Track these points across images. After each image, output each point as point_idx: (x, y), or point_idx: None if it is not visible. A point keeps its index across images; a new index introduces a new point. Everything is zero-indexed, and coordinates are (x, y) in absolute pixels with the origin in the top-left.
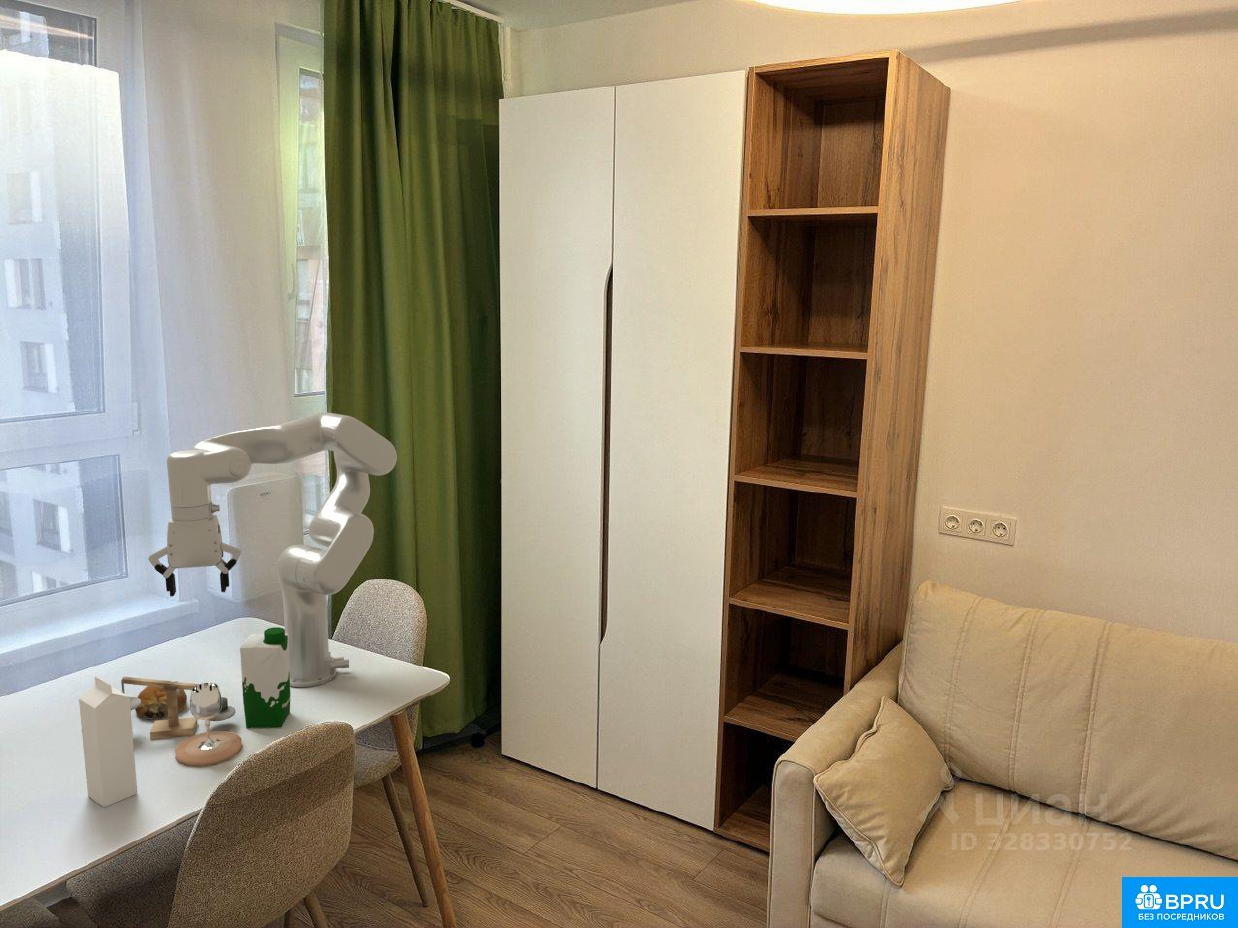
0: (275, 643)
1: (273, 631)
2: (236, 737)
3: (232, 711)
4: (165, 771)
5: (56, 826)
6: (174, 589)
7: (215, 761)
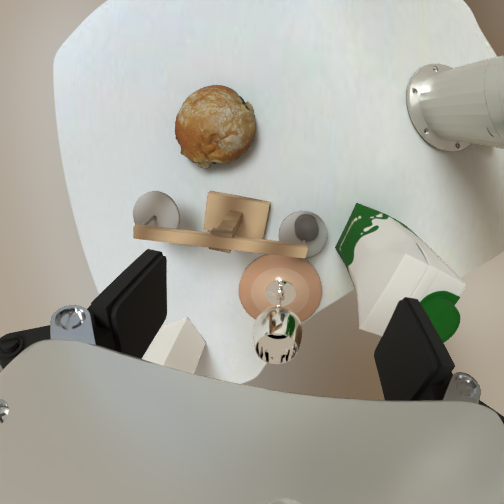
0: None
1: (438, 326)
2: (316, 287)
3: (322, 240)
4: (229, 314)
5: None
6: (157, 304)
7: None
